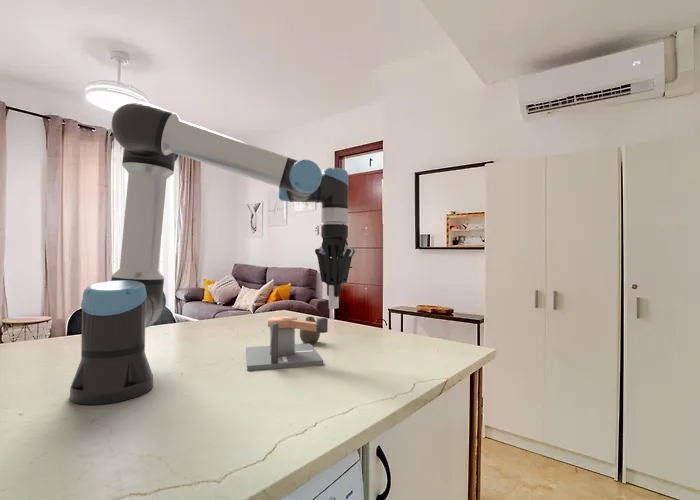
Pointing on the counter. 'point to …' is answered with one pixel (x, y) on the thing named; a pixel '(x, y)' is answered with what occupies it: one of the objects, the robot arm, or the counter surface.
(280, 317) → the wooden cross piece
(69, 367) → the counter surface
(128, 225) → the robot arm
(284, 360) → the post base
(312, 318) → the vase
